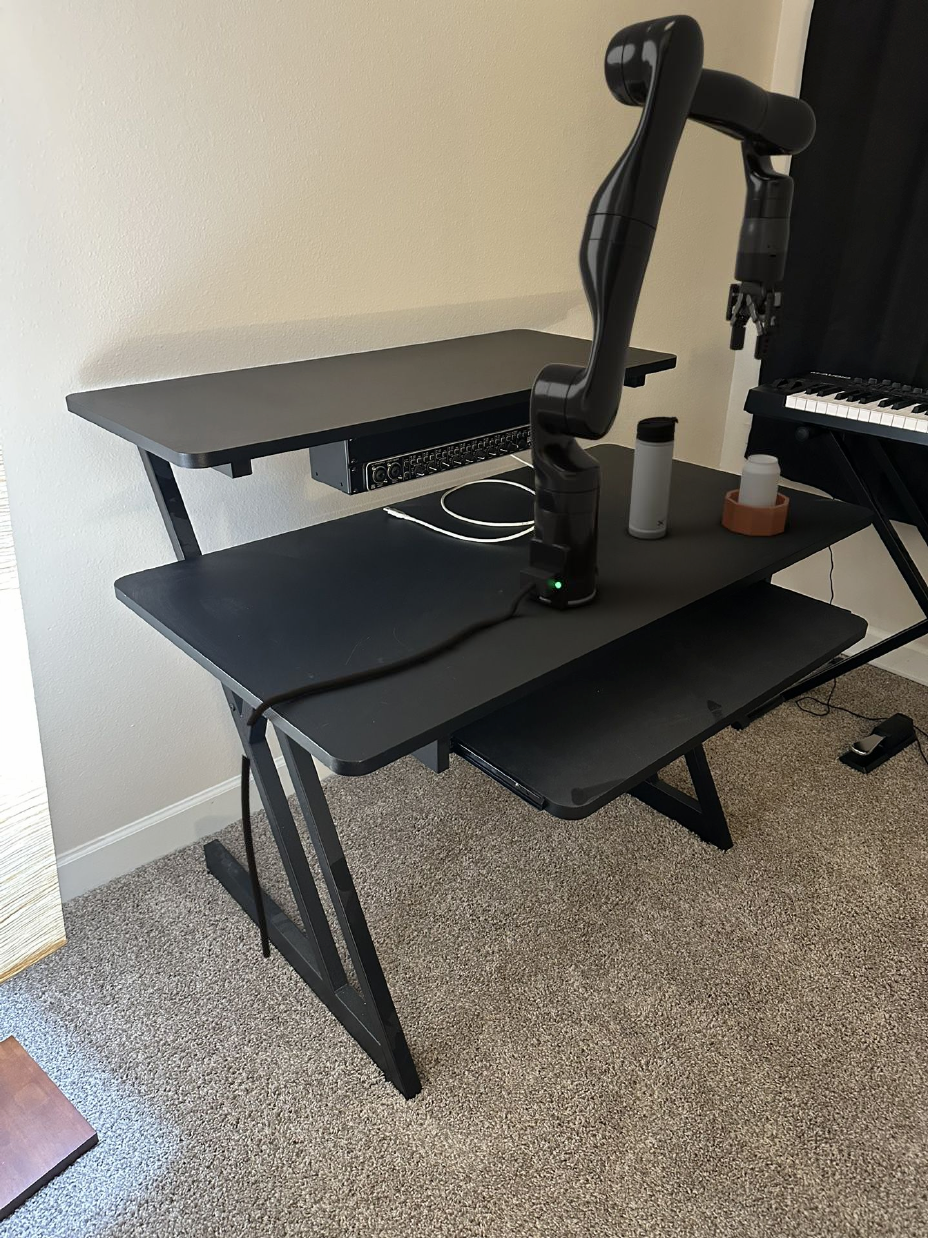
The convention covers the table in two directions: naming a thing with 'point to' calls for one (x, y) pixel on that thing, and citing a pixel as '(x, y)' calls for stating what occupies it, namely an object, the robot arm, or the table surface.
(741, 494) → the beverage can
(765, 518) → the holder
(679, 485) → the table surface
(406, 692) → the table surface
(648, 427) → the travel mug
